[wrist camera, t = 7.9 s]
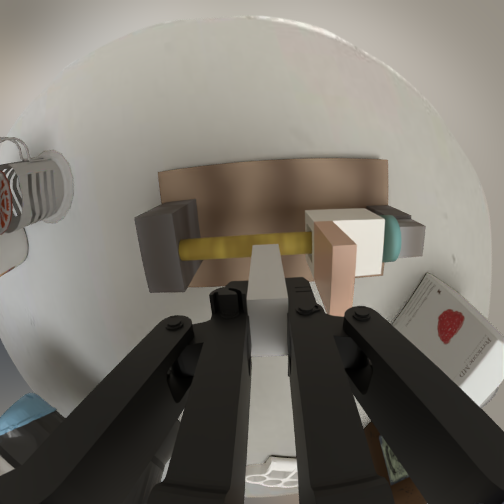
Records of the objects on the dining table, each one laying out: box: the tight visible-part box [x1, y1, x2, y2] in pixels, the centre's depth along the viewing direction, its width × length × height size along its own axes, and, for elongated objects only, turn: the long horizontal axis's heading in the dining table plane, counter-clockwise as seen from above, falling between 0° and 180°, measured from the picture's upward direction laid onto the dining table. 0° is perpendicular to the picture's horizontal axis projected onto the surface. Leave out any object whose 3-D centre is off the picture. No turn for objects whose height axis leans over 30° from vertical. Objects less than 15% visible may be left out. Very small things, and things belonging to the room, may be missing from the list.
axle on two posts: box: [135, 158, 426, 293], centre depth 22 cm, size 22×12×10 cm, turn 94°
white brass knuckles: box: [245, 456, 298, 488], centre depth 43 cm, size 3×18×15 cm
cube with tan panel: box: [305, 208, 385, 317], centre depth 17 cm, size 5×4×9 cm
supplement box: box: [392, 273, 504, 406], centre depth 23 cm, size 9×9×15 cm
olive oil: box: [364, 422, 427, 504], centre depth 27 cm, size 11×11×25 cm
